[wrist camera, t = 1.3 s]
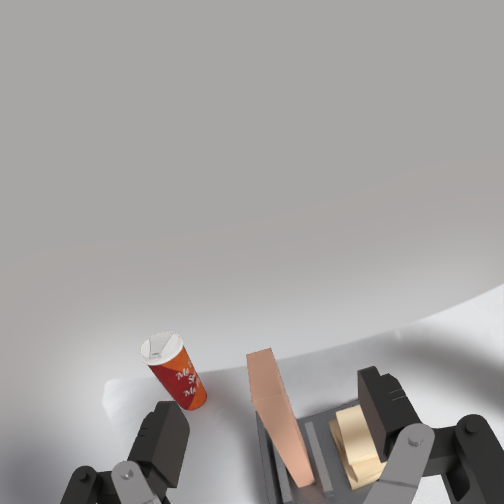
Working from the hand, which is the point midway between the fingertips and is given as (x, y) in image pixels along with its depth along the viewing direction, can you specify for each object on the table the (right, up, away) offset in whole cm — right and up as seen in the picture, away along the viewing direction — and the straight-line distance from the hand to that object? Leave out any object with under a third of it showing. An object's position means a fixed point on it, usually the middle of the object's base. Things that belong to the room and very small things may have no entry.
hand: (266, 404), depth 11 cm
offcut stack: (+13, -19, +17) cm, 28 cm away
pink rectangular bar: (+6, -21, +17) cm, 28 cm away
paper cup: (-11, -21, +36) cm, 43 cm away
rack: (+10, -21, +17) cm, 29 cm away
